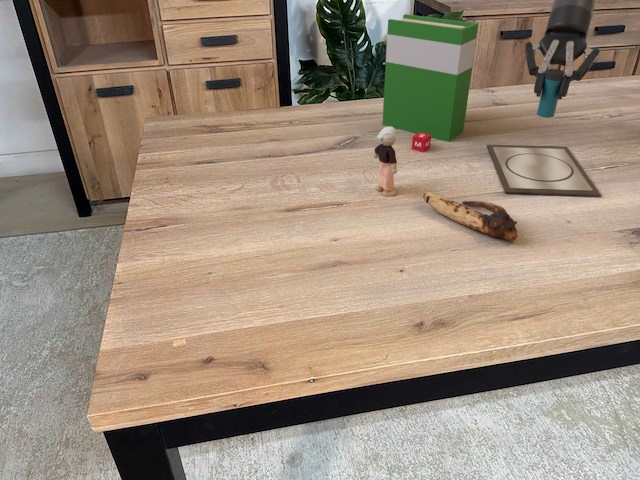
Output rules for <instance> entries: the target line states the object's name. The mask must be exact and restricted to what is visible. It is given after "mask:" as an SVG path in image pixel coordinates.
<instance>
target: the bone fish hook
mask: <svg viewBox="0 0 640 480" xmlns="http://www.w3.org/2000/svg"><path fill="white" fill-rule="evenodd" d="M422 197H423V198H422V199H423V200H424V201H423V202H425V203H426V204H427V205H428V206H430V208H431V209H433V210H434V211H435V212H437V213H439V214H440V215H442V216H444V217H447V218H448V219H451V220H453V221H454V222H456V223H458V224H461V225H463V226H466V227H468V228H471V229H473V230H475V231H478V232H480V233H483V234H485V235H488V236H491V237H493V238H499V239H503V240H505V241H509V242H514V241H516V240H517V239H518V237H519V236H518V230H517V227H516V225H517V224H518V221H516V220H514V219H513V217H511V216H510V214H509V213H508V211H507V210H506V209H505V208H504V207H503V206H500V205H499V204H498V205H497V204H495V203H492V202H488V201H483V200H463V201H462V202H461V203H460V202H456V201H454V200H452V199H449V198H447V197H445V196H442V195H440V194H438V193H434V192H432V191H425V192H424V193H423V196H422ZM471 207H473V208H474V207H475V208H481V209H485V210H487V211H490V212H491V213H490V214H487V213H482V212H480V211H477V210H475V209H473V208H471Z"/></svg>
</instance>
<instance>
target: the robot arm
mask: <svg viewBox="0 0 640 480" xmlns="http://www.w3.org/2000/svg"><path fill="white" fill-rule="evenodd" d="M595 6H596V0H553V3H552V6H551V10H550V14H549V17H548V21H547V24H546V28H545V32H544V35H543V37H542V38H541V39H540V40H539V41H538V42H536V43H532V42H531V41H528V42H526V43H525V45H524V54H525V59H526V66H527V70H528V74H529V76H534V77H536V78H535V82H534V86H533V94H535V97H537V98H539V97H541V92H542V88H543V83H544V78H545V72H546V70H548V69H551V67H552V66H553V65H554V66H555V65H559V66H564V67H563V71H564V72H565V73H564V77H563V79H562V83H561V87H560V91H559V95H558V100H562V99H563V98H565V97H567V95H568V92H569V88H570V84H571V82H573V81H576V82H580V81H582V79H584V77H585V76H586V74H587V73H588V72H589V71H590V69H591V68H592V67H593V66H594V64H595V63H596V62H597V60H598V59H599V55H600V52H601V51H600V49H599V48H590V47H588V43H587V37H588V33H589V31H590V30H589V29H590V25H591V21H592V18H593V15H594V10H595ZM539 50H540V51H539ZM538 51H539V52H541V54H542V56H543V60H542V63H541V64H540V66H538V65H537V62H536V58H535V56H537V54H538ZM582 55H584V58H583V60H584V61H582V63H581V64H580V66H578V68H577V70H574V62H575V61H576V60H577V59H579V58H580V57H582Z"/></svg>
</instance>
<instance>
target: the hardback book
mask: <svg viewBox="0 0 640 480" xmlns="http://www.w3.org/2000/svg"><path fill="white" fill-rule="evenodd" d="M478 30H479V23H478V22H476V23H475V22H470V21H463V20H455V19H445V18H439V17H430V16H423V15H415V14H407V13H405V14H403V17H402V19H393V18H388V19H387V30H386V31H387V34H386V50H385V51H386V53H385V68H384V69H385V71H384V87H383V88H384V89H383V107H382V122H381V123H382V126H385V127H393V128H394V129H397V130H402V131H406V132H409V133H413V134H417V133H418V132H421V133H425V134H429V135H431V139H432V138H433V139H436V140H439V141H444V142H450V141H452V140H453V139H455V138H456V137H458V136H459V135H461V134H462V133H463V132H464V129H465V123H466V116H467V115H466V114H467V108H468V100H469V93H470V86H471V80H472V72H473V65H474V59H475V58H474V57H475V52H476V51H475V50H476V46H477V45H476V44H477V36H478Z"/></svg>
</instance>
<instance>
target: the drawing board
mask: <svg viewBox="0 0 640 480" xmlns="http://www.w3.org/2000/svg"><path fill="white" fill-rule="evenodd" d="M486 148H487V151H488V153H489V156H490V158H491V161H492V163H493V166H494V169H495V171H496V173H497V176H498V178H499V181H500V184H501V186H502V188H503V191H504V193H505V195H520V196H521V195H524V196H526V195H528V196H530V195H531V196H554V197H555V196H556V197H586V198H601V196H602V194H601V193H600V191H599V190H598V188H597V187H596V185H595V184H594V182H592V180H591V179H590V176H589V175H588V174H587V172H586V171H585V170H584V169H583V167H582V166H581V165H580V163H579V161H577V159H576V157H575V156H574V154H573V153H572V151H571V150H570V149H569V148H568V146H562V145H561V146H560V145H526V144H525V145H523V144H522V145H521V144H519V145H518V144H486Z"/></svg>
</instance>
